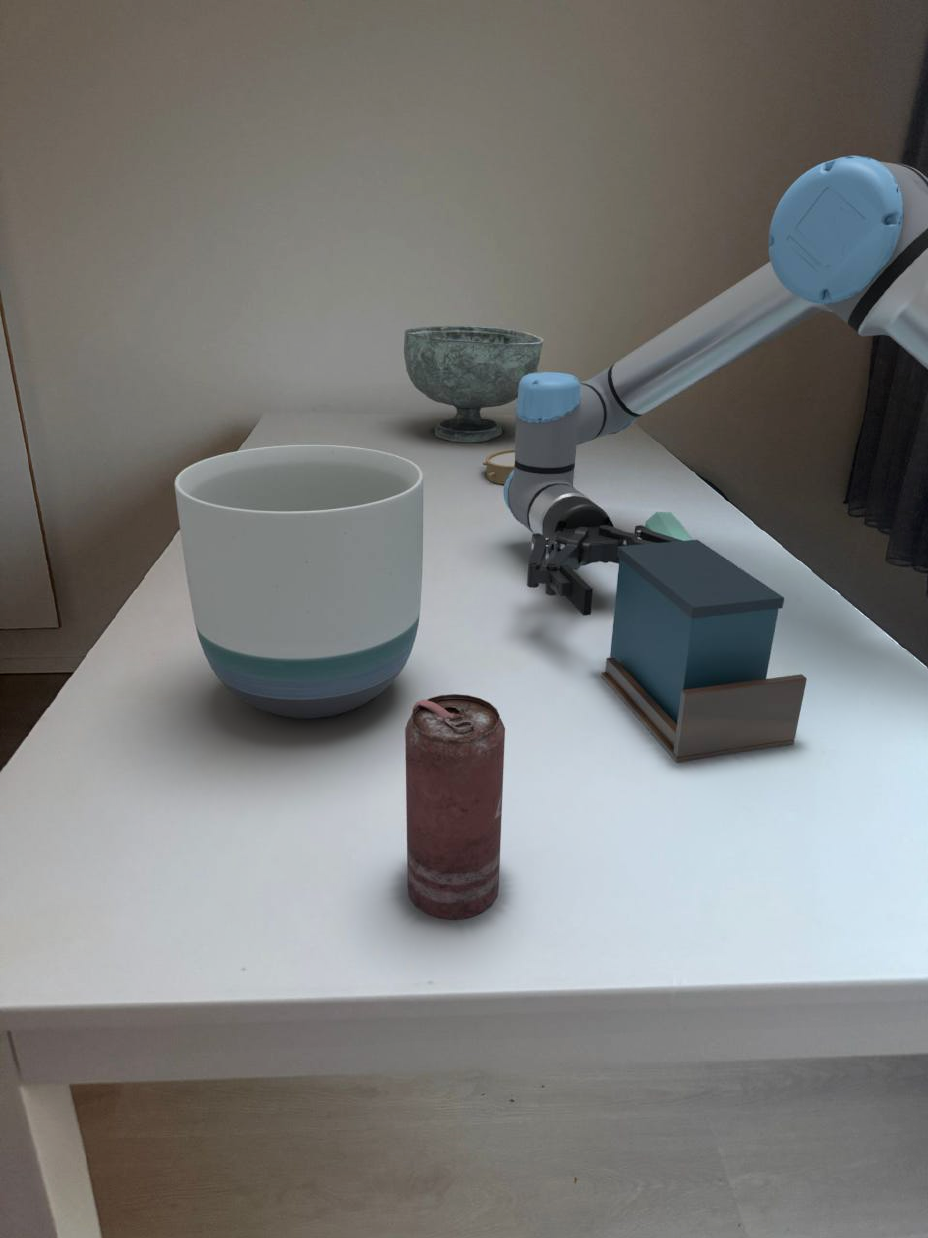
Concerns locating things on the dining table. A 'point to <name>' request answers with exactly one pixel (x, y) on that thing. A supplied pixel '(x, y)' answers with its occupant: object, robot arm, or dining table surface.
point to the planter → (304, 572)
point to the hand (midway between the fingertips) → (653, 595)
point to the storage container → (689, 620)
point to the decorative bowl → (469, 372)
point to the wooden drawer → (716, 714)
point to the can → (454, 805)
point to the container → (667, 526)
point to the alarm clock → (500, 465)
